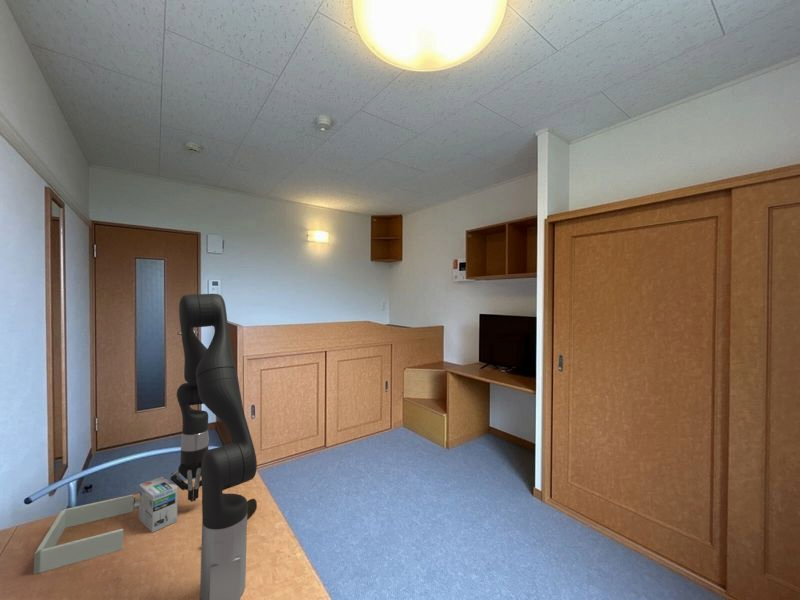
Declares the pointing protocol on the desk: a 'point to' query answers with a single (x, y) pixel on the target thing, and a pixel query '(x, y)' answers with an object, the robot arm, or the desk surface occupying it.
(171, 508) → the light bulb box
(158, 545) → the desk surface
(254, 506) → the hand tool
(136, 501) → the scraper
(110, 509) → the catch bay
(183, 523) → the desk surface
